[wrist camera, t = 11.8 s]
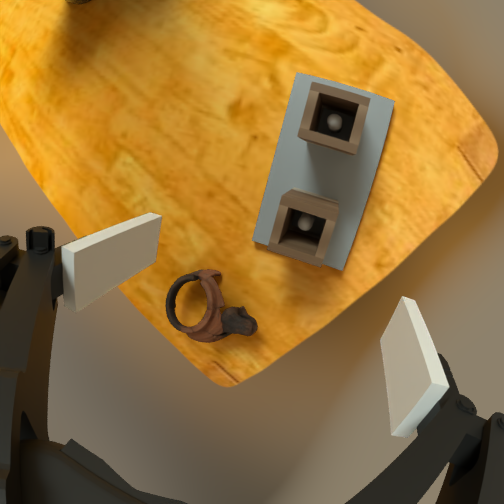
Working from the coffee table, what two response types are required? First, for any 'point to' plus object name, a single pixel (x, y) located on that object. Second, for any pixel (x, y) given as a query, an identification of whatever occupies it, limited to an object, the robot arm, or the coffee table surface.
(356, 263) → the coffee table surface
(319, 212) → the sleeve loose
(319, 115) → the sleeve seated
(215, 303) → the pottery mug
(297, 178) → the pin board
